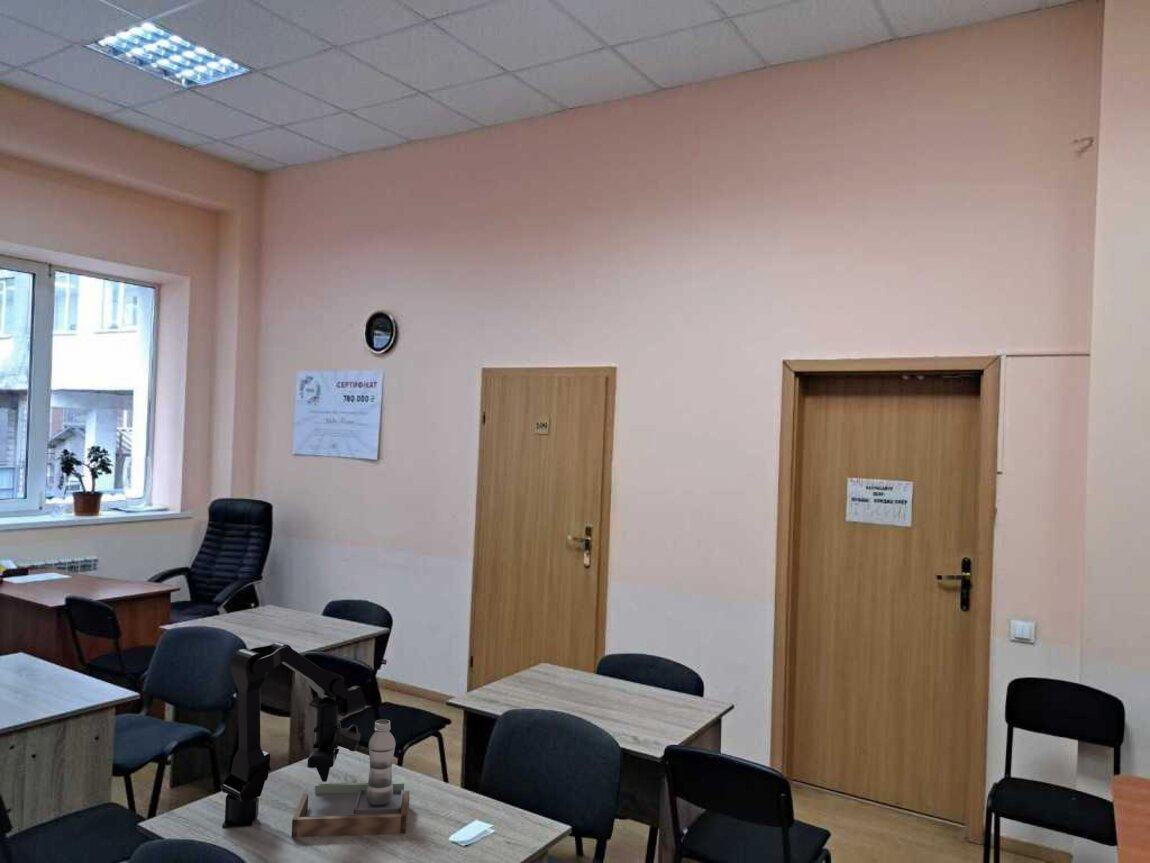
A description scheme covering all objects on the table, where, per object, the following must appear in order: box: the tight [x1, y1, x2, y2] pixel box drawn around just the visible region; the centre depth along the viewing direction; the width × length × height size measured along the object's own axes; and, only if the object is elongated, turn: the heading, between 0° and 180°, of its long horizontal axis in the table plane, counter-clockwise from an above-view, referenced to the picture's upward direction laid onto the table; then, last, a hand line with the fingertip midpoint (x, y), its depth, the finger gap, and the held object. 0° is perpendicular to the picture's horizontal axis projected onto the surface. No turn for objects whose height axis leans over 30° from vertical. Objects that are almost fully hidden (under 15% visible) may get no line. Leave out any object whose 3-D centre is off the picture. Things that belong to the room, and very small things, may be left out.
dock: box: [291, 790, 410, 838], centre depth 190 cm, size 25×13×4 cm, turn 98°
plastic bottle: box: [366, 719, 396, 805], centre depth 198 cm, size 6×7×20 cm
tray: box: [305, 781, 405, 817], centre depth 197 cm, size 22×13×3 cm, turn 98°
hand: (324, 781), depth 207 cm, fingers closed
